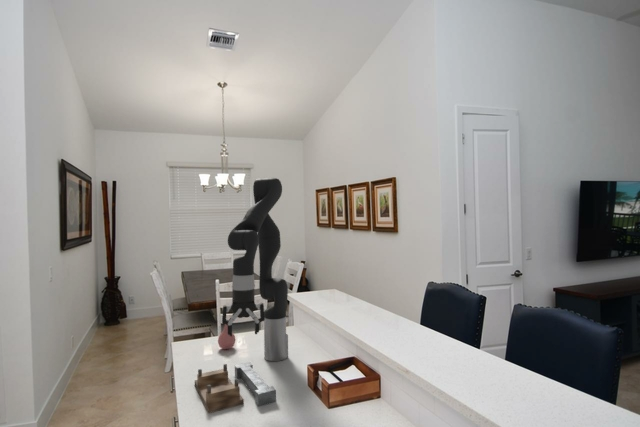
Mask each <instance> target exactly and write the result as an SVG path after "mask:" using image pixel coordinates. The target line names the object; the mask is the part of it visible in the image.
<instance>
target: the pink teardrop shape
mask: <svg viewBox="0 0 640 427" xmlns="http://www.w3.org/2000/svg"><path fill="white" fill-rule="evenodd" d="M235 343H236V336H235V334H234V333H233V332H232V336H230V335H228V325H226V324H224V327H223V330H222V332H221V333H220V334H219V335H218V340H217V344H218V346H219V348H221V349H224V350H226V349H227V350H229V349H230V348H233V347H234V346H235Z"/></svg>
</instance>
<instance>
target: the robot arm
mask: <svg viewBox="0 0 640 427" xmlns="http://www.w3.org/2000/svg"><path fill="white" fill-rule="evenodd" d="M282 185H283V184H282V181H281V180H280V179H279V178H276V177H266V178H265V177H264V178H256V179H255V180H254V182H253V186H252V189H253V191H252V192H253V199H254V204H253V205H251V207H250V208H249V209H248V210H247V211H246V213H245V214H244V216H243V219H242V220H241V221H240V222H238V224H237V225H235V226H234V227H233V228H232V229H231V230H230V232H229V234H228V236H227V245H228V247H229V248H230V249H231V250H232V251H245V253H244V254H243V255H242V256H238V257H236V258H234V259H233V261H232V262H233V263H232V280H231V281H232V283H231V284H232V285H231V288H232V291H231V292H232V296H231V297H232V298H231V299H232V300H231V301H232V302H231V305H226V304H224V305H222V320H221V323H222V324H223V325H225V324H226V325H228V335H230V336H232V333H233V323H234V322H235V320H236V319H237V318H239V319H242V318H249V317H251V319H252V320H253V321H254V335H258V333H260V323H261V322H263V335H264V336H263V338H264V339H263V343H264V344H263V346H264V347H263V349H264V351H263V352H264V354H263V355H264V356H263V357H264V360H266V361H267V362H279V361H283V360H285V359H287V358H289V335H288V334H287V312H288V311H287V309H288V294H289V291H288V290H289V287H288V283H287V280H286V279H285V278H276V277H273V275H272V273H273V271H272V270H273V264H274V263H275V261H276V259H277V257H278V255H279V252H280V250H281V245H282V244H281V231H280V229H279V227H278V225H277V224H276V223H275V221H274V220H273V219H272V217H271V216H270V214H269V213H270V211H271V210H272V209H273V208H274V207H275V205H276V204H277V203H278V201H279V200H280V198H281V196H282V192H283V186H282ZM257 250H258V256H259V280H258V281H259V286H258V287H259V295H260V297H261V298H262V299H263V300H266V301H273V306H271V307H268V308H266V309H265V308H264V307H265V306H264V303H263V302H260V303H256V302H255V286H256V285H255V273H254V270H255V267H254V266H255V258H256V254H257ZM256 308H257V310H258V311H259V317H257V316H256V314H255V313H254V311H255V310H256ZM230 310H231V311H232V314H231V316H230V317H229V319H227V313H229V312H230Z"/></svg>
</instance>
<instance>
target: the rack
mask: <svg viewBox="0 0 640 427" xmlns="http://www.w3.org/2000/svg"><path fill="white" fill-rule="evenodd" d="M197 373H198V374H197V375H196V376H197V379H196V380H194V386H195V388H196V390H197V393H198V394H199V396H200V399H201V401H202V403H203V404H204V407H205V409H206V411H207V413H208V414H210V413H214V412H218V411H221V410H225V409H229V408H232V407H236V406H241V405H244V402H245V401H244V397H243V396H242V395H241V389H240V385H239V379H237V378H234V383H232V381H231V379H230V378H229V371H228V364H227V363H223V368H221V369H216V370H211V371H206V372H203V369H201V368H200V369H198V370H197Z"/></svg>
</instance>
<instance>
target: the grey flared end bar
mask: <svg viewBox="0 0 640 427" xmlns="http://www.w3.org/2000/svg"><path fill="white" fill-rule="evenodd" d="M253 366H254V365H253V364H252V363H251V362H244V363H240V364H235V365H234V377H235V379H238V380H239V379H240V380H241V379H242V380H241V381H242V382H243V383H244V385H245V384H246V385H247V386H246V385H245V386H246V387H247V389H248V390H249V389H250V390H249V391H250V393H251V394H252V393H253V394H252V395H253V396H254V403H255V405H256V406H257V407H259V408H260V407H263V406H266V405H270V404H274V403H276V402H277V389H276V388H275V387H274V386H273V385H270V386H269V385H268V384H267V383H266V382H265V381H264V380H263V379H262V377H261V376H260V375H259V374H258V373H257V372H256V370H255V369H254V368H253Z"/></svg>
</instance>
